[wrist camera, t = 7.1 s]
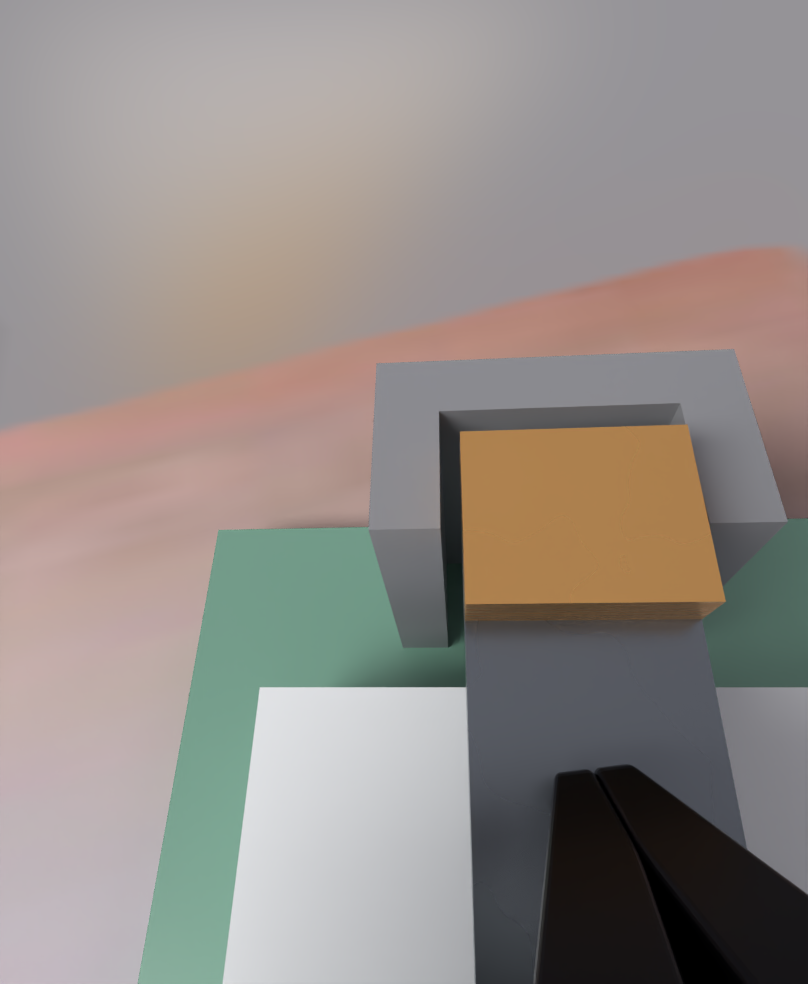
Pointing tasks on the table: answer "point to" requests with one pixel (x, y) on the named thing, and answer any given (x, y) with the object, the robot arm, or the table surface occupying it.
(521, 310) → the table surface
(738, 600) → the board
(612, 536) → the strap
